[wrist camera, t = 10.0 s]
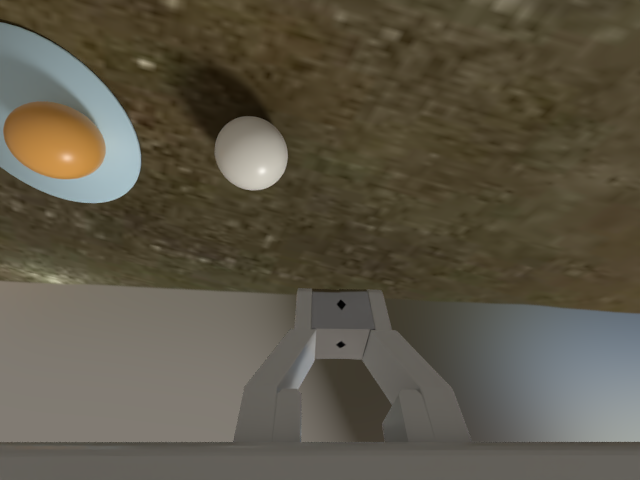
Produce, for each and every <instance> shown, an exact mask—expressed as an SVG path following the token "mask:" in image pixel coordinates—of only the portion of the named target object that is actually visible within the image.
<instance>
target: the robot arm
mask: <svg viewBox="0 0 640 480" xmlns="http://www.w3.org/2000/svg"><path fill="white" fill-rule="evenodd" d="M338 358H340V359H363V360H362V361H363V362H364V364H365V365H366V367H367V368H368V370H369V371H370V372H371V374H372V376H373V377H374V379H375V380H376V382H377V383H378V385H379V386H380V387H381V389H382V390H383V392H384V393H385V395H386V396H387V398H388V399H389V401H390V402H391V404H392V407H391V409H390V411H389V413H388V414H387V416H386V418H385V420H384V422H383V424H382V426H383V432H384V439H385V442H301V393H300V392H299V391H298V388H299V387H300V385H301V383H302V381H303V380H304V378H305V376H306V375H307V373H308V371H309V369H310V368H311V366H312V364H313V362H314V361H315V359H338ZM0 480H640V442H472V440H471V437H470V435H469V432H468V429H467V427H466V424H465V422H464V418H463V416H462V413H461V410H460V408H459V405H458V402H457V400H456V397H455V394H454V392H453V389H452V388H451V387H450V386H449V385H448V384H447V383H446V382H445V380H444V379H443V378H441V376H440V375H439V374H438V373H437V372H436V371H435V370H434V369H433V368H432V367H431V366H430V365H429V364H428V363H427V362H426V361H425V360H424V359H423V358H422V357H421V356H420V355H419V354H418V353H417V351H416V350H415V349H414V348H413V347H412V346H411V345H410V344H409V343H408V342H407V341H406V340H405V339H404V338H403V337H402V336H401V335H400V334H399V333H398V332H397V331H396V330H392V328H391V325H390V321H389V316H388V312H387V308H386V304H385V300H384V296H383V292H382V291H381V290H355V289H339V290H331V289H304V288H298V290H297V301H296V314H295V328H294V329H290V330H289V331H288V332H287V334H286V335H285V336H284V337H283V339H282V340H281V341H280V343H279V344H278V345H277V346H276V348H275V349H274V350H273V351H272V353H271V354H270V355H269V356H268V358H267V359H266V360H265V362H264V363H263V364H262V365H261V367H260V368H259V369H258V370H257V372H256V373H255V374H254V375H253V377H252V378H251V379H250V380H249V382H248V383H247V385H246V386H245V387H244V392H243V397H242V402H241V407H240V412H239V417H238V422H237V426H236V431H235V436H234V441H233V442H22V443H21V442H0Z"/></svg>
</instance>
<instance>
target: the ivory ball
mask: <svg viewBox="0 0 640 480" xmlns="http://www.w3.org/2000/svg"><path fill="white" fill-rule="evenodd" d="M215 158H216V162H217V165H218V167H219V169H220V171H221V172H222V174H223V175H224V176H225V177H226V178H227V179H228V180H229V181H230V182H231V183H233V184H234V185H236V186H238V187H240V188H243V189H247V190H261V189H265V188H268V187H270V186H271V185H273V184H274V183H275V182H277V181H278V180H279V179H280V177H281V176H282V174H283V173H284V171H285V168H286V165H287V159H288V153H287V146H286V143H285V141H284V139H283V137H282V135H281V133H280V132H279V131H278V130H277V128H276V127H275V126H273V125H272V124H271V123H269V122H268V121H266V120H264V119H262V118H259V117H254V116H243V117H239V118H236V119H233V120H231V121H230V122H229V123H227V124H226V125H225V126H224V127H223V128H222V130H221V131H220V133H219V134H218V137H217V139H216V143H215Z"/></svg>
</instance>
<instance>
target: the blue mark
mask: <svg viewBox="0 0 640 480" xmlns="http://www.w3.org/2000/svg"><path fill="white" fill-rule="evenodd" d="M37 101H48V102H55V103H59V104H63V105H66V106H69V107H71V108H73V109H75V110H77V111H79V112H81V113H82V114H84V115H85V116H86V117H88V118H89V119H90V120H91V121H92V122H93V123H94V124H95V125H96V126H97V128H98V129H99V130H100V132H101V134H102V136H103V138H104V141H105V145H106V154H105V158H104V161H103V163H102V164H101V166H100V167H99V168H98V169H97V170H96V171H94V172H93V173H91V174H90V175H87V176H85V177H82V178H78V179H56V178H51V177H47V176H44V175H41V174H39V173H36V172H34V171H32V170H31V169H29V168H27V167H26V166H24V165H23V164H22V163H21V162H19V161H18V160H17V159H16V158H15V157H14V156H13V154H12V153H11V152H10V150H9V149H8V147H7V145H6V142H5V139H4V134H3V128H4V123H5V120H6V118H7V117H8V115H9V114H10V113H11V112H12V111H13V110H14V109H16V108H17V107H19V106H21V105H23V104H27V103H30V102H37ZM0 167H1V168H3V169H4V170H6V171H7V172H9V173H10V174H11V175H13V176H15V177H16V178H18V179H20V180H21V181H23V182H25V183H26V184H28V185H30V186H32V187H34V188H36V189H38V190H41V191H43V192H45V193H48V194H50V195H53V196H56V197H59V198H63V199H66V200H70V201H76V202H83V203H101V202H108V201H111V200H115V199H117V198H119V197H121V196H122V195H124V194H125V193H127V192H128V191H129V190H130V189H131V188H132V187H133V186H134V184H135V182H136V181H137V179H138V176H139V173H140V168H141V151H140V145H139V141H138V138H137V135H136V132H135V130H134V127H133V125H132V123H131V121H130V119H129V117H128V115H127V114H126V112H125V110H124V109H123V107H122V106H121V104H120V103H119V101H118V100H117V98H116V97H115V96H114V95H113V93H112V92H111V91H110V90H109V88H108V87H107V86H106V85H105V84H104V83H103V82H102V81H101V80H100V79H99V78H98V77H97V76H96V75H95V74H94V73H93V72H92V71H91V70H90V69H89V68H88V67H87V66H85V65H84V64H83V63H82V62H81V61H79V60H78V59H77V58H75V57H74V56H73V55H71V54H70V53H69V52H68V51H66V50H64V49H63V48H61V47H60V46H58V45H56V44H55V43H53V42H52V41H50V40H48V39H46V38H44V37H42V36H40V35H38V34H36V33H34V32H31V31H29V30H26V29H24V28H21V27H18V26H14V25H11V24H7V23H2V22H0Z"/></svg>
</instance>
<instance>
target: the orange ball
mask: <svg viewBox="0 0 640 480" xmlns="http://www.w3.org/2000/svg"><path fill="white" fill-rule="evenodd" d="M3 134H4V139H5V142H6V145H7V147H8V149H9V150H10V152H11V153H12V154H13V156H14V157H15V158H16V159H17V160H18V161H19V162H21V163H22V164H23V165H24V166H26V167H27V168H29V169H31V170H32V171H34V172H36V173H39V174H41V175H44V176H47V177H51V178H56V179H78V178H82V177H85V176H87V175H90V174H91V173H93V172H94V171H96V170H97V169H98V168H99V167H100V166H101V164H102V163H103V161H104V158H105V154H106V145H105V141H104V138H103V136H102V134H101V132H100V130H99V129H98V128H97V126H96V125H95V124H94V123H93V122H92V121H91V120H90V119H89V118H88V117H86V116H85V115H84V114H82V113H81V112H79V111H77V110H75V109H73V108H71V107H69V106H66V105H63V104H59V103H55V102H48V101H37V102H30V103H27V104H23V105H21V106H19V107H17V108H16V109H14V110H13V111H12V112H11V113H10V114H9V115H8V117H7V118H6V120H5V123H4V128H3Z"/></svg>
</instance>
